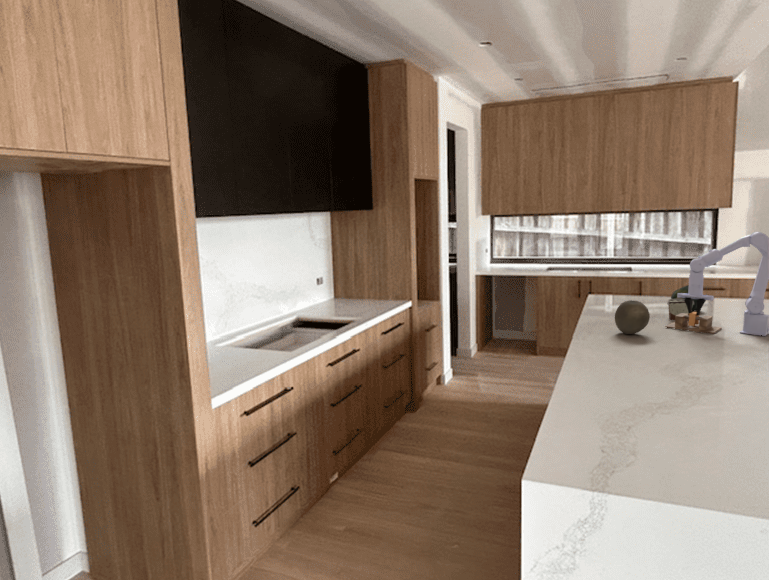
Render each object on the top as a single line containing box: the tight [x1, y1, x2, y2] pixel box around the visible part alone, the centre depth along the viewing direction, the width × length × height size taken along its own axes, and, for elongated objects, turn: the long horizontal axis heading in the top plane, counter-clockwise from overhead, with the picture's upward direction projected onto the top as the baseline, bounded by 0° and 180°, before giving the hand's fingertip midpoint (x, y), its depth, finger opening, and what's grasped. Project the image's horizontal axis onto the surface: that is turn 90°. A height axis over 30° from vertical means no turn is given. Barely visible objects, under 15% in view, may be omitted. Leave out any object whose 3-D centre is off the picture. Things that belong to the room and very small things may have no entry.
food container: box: [666, 298, 694, 321], centre depth 276 cm, size 12×6×10 cm, turn 84°
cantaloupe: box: [614, 299, 651, 335], centre depth 245 cm, size 14×14×15 cm
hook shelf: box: [664, 313, 723, 335], centre depth 255 cm, size 20×13×6 cm, turn 46°
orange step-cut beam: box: [688, 311, 700, 326], centre depth 255 cm, size 2×7×6 cm, turn 136°
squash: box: [670, 284, 699, 312], centre depth 297 cm, size 14×15×15 cm
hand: (694, 314), depth 254 cm, fingers open, 3 cm apart
